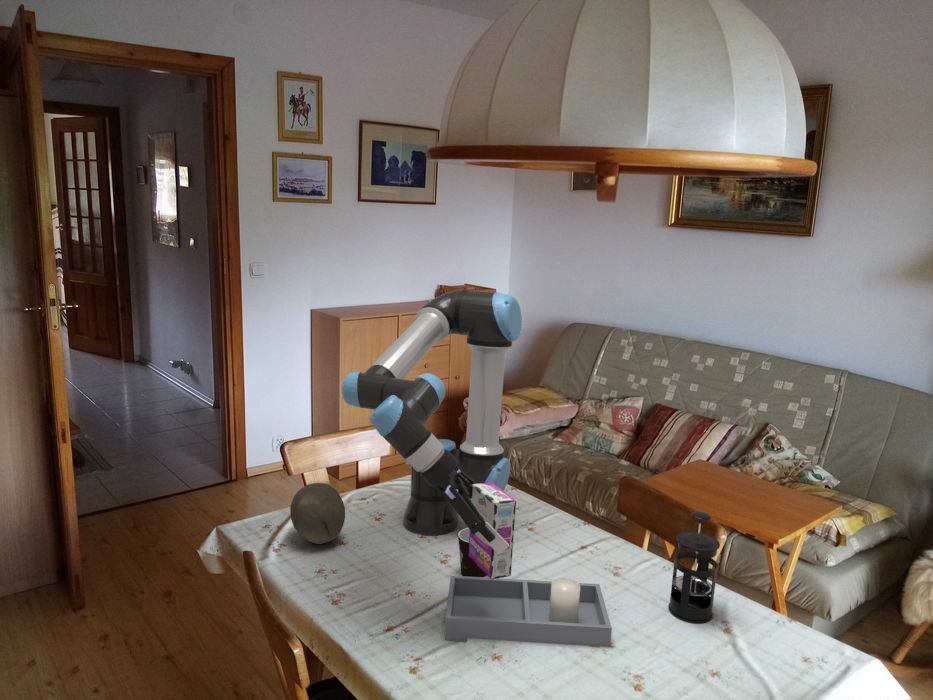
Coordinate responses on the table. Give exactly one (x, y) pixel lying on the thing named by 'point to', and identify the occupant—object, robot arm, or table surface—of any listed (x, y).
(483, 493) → the candy bar box
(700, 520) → the french press
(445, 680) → the table surface
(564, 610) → the cream cylinder
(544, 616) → the grey divided tray
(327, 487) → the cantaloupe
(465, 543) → the coffee mug
